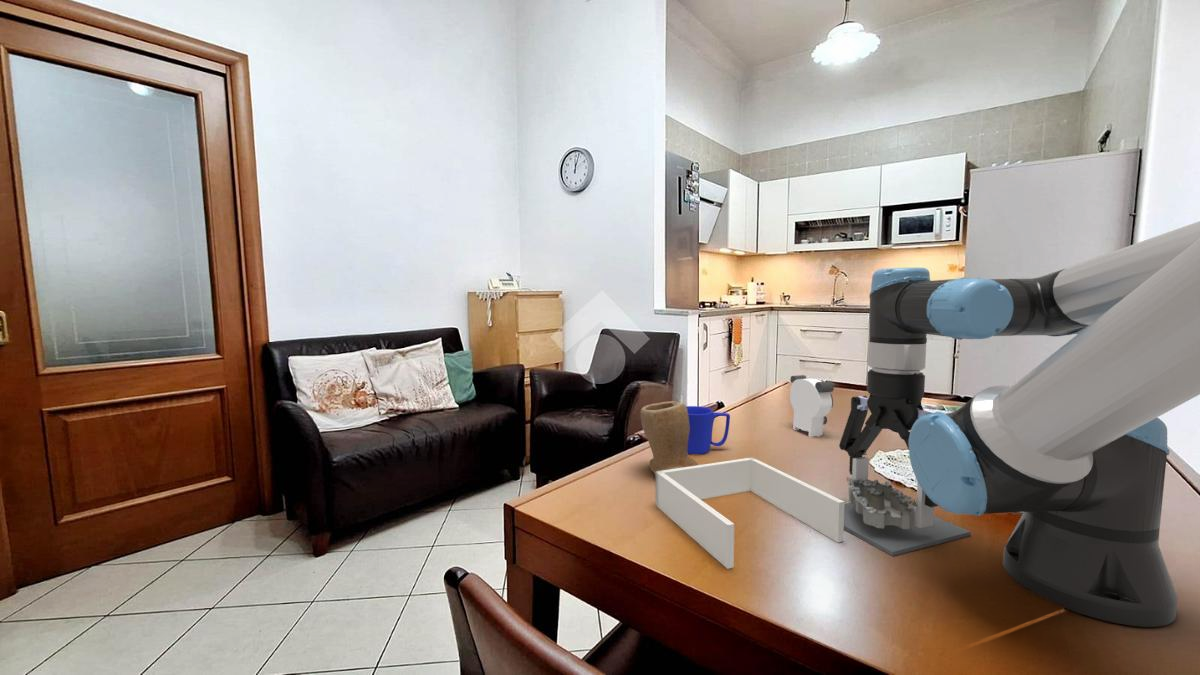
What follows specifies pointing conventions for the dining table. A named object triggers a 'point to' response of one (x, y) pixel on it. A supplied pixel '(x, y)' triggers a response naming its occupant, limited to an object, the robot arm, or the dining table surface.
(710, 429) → the mug
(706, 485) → the white open frame
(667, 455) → the stone cup
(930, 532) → the mat
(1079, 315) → the robot arm
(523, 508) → the dining table surface
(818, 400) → the panda figurine
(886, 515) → the grey castle ring
